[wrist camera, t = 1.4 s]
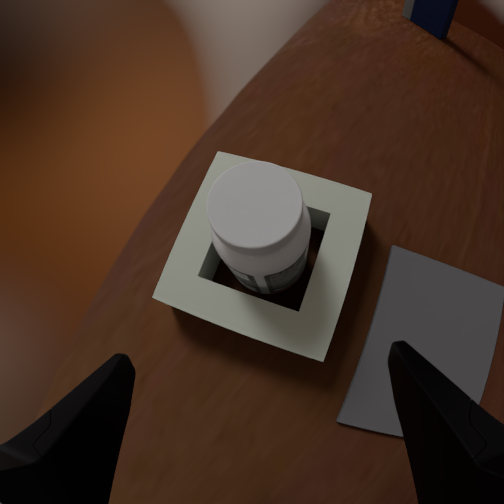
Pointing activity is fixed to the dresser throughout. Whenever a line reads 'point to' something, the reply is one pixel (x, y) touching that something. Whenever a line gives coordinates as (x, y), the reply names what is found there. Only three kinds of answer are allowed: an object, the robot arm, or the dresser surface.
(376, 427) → the charcoal mat
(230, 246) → the pill bottle
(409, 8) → the cassette player
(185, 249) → the socket block
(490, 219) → the dresser surface
